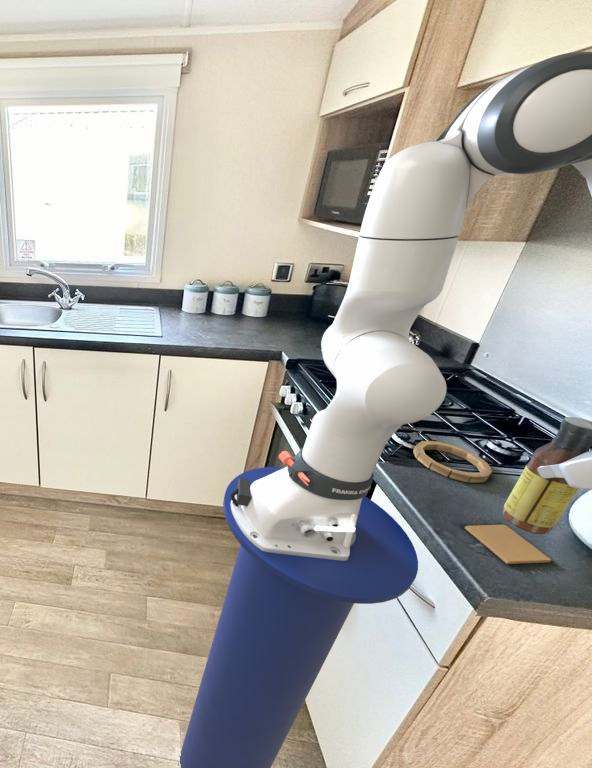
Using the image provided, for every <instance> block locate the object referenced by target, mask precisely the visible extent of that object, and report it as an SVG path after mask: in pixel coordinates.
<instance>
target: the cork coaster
mask: <svg viewBox="0 0 592 768" xmlns="http://www.w3.org/2000/svg"><path fill="white" fill-rule="evenodd" d="M464 529H465V531H467V532H468V533H470V534H471V535H472V536H473V537H474V538H476V539H477V540H478V541H479V542H480V543H481V544H483V545H484V546H485V547H486V548H487V549H489V550H490V551H491V552H492V553H494V554H495V556H496V557H498V558H499V559H501V561H503V562H504V563H505V564H506V565H516V564H517V565H518V564H540V563H542V564H543V563H551V562H552V559H551V558H550V557H549V556H547V554H545V553H543V552H542V551H541V550H539V548H537V547H536V546H534V545H533V544H532V543H530V542H529V541H527V540H526V539H525V538H524V537H522V536H521V535H520V534H519V533H517V532H516V531H515V530H513V529H512V528H510V527H509V526H508V525H506V524H485V525H484V524H483V525H482V524H481V525H479V524H478V525H465V526H464Z"/></svg>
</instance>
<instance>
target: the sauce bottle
mask: <svg viewBox="0 0 592 768" xmlns="http://www.w3.org/2000/svg"><path fill="white" fill-rule="evenodd" d="M559 426H560V428H559V430H558V432H557V433H556V435H555V437H554V438H553V439H552V440H551V441H550V442H549V443H545V444H544V445H542V446H540V447H537V448H536V449H535V450H534V452H533V454H532V456H531V458H530V460H529V461H528V463H527V464H526V465H525V467H524V469H523V470H522V472H521V474H520V476H519V478H518V479H517V481H516V483H515V485H514V486H513V488H512V490H511V492H510V493H509V496H508V497H507V499H506V501H505V503H504V505H503V508H502V516H503V518H504V519H505V520H506V521H507V522H508V523H510V524H512V525H514V526H515V527H517V528H518V529H520V530H522V531H526V532H528V533H531V534H536V535H546V534H549V533H550V532H551V531H552V530H553V528H555V526H556V525H557V524H558V522H559V521H560V519H561V517H562V516H563V515H564V512H565V511H566V510H567V508H568V507H569V505H570V503H571V501H572V500H573V499H574V497H575V495H576V494H577V492H578V491H579V489H577V488H572V487H570V486H569V484H568V483H567V481H566V480H565V478H558V477H555V478H542V477H541V476H540V474H539V472H538V470H537V468H538V467H541V466H543V465H550V464H561V463H563V462H566V461H568V460H570V459H572V458H574V457H577V456H579V455H581V454H583V453H586V452H588V451H590V450H591V449H590V448H591V446H592V420H589V419H585V418H582V417H577V416H576V417H575V416H566V417H564V418H563V419H562V420H561V422H560V425H559Z"/></svg>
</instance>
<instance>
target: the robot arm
mask: <svg viewBox="0 0 592 768" xmlns="http://www.w3.org/2000/svg"><path fill="white" fill-rule="evenodd" d="M570 165H571V166H573V167H574V168H576V170H578V172H579V173H580V174H581V176H582V178H585V180H586V184H587V188H588V190H589V191H588V192H589V193H590V196H591V197H592V51H574V52H567V53H562V54H557V55H555V56H551V57H549V58H545V59H543V60H542V61H538V62H537V63H533V64H529V65H526V66H524V67H521V68H518V69H516V70H514V71H512V72H510V73H509V74H507V75H505V76H503V77H501V78H500V79H498V80H497V81H495V82H494V83H492V84H490V85H489V86H488V87H486V88H485V89H483V90H481V91H480V92H479V93H478V94H477V95H475V96H474V97H473V98H472V99H471V100H469V102H467V103H466V105H465V106H464V107H463V108H462V109H461V110H460V111H459V112H458V114H457V115H456V116H455V117H454V119H453V120H452V121H451V122H450V123H449V124H448V126H447V127H446V129H444V131H442V133H441V134H440V136H439V137H437V138H436V140H434V141H427V142H422V143H417V144H415V145H414V144H413V145H412V146H411V145H410V146H409V147H406V148H403V149H402V150H400V151H398V152H396V153H395V154H394V155H392V156H391V157H390V158H389V159H387V161H386V162H385V163H384V164H383V166H382V168H381V170H380V171H379V173H378V176H377V179H376V181H375V183H374V186H373V188H372V191H371V194H370V196H369V199H368V202H367V205H366V209H365V211H364V214H363V219H362V222H361V227H360V231H359V234H358V240H357V244H356V248H355V252H354V258H353V262H352V267H351V272H350V276H349V279H348V280H349V281H348V284H347V287H346V291H345V294H344V297H343V299H342V301H341V304H340V306H339V308H338V310H337V313H336V315H335V317H334V320H333V322H332V324H331V325H329V326H328V328H327V329H325V331H324V333H323V335H322V338H321V342H320V347H321V354H322V355H321V356H322V358H323V362H324V365H325V366H326V368H327V369H328V370H329V371H330V373H331V374H332V375H333V377H334V379H336V390H335V393H334V396H333V398H332V399H331V401H330V403H329V404H328V405H327V406H326V408H325V409H322V410H319V411H318V412H317V413H316V414H315V415H313V418H312V421H311V424H310V427H309V429H308V433H307V435H306V438H305V442H304V445H303V447H301V449H299V451H298V452H297V453H296V454H295V455H294V456H291V454H290V453H289V451H287V450H283V451H281V452H280V453H279V454H278V459H279V460H280V461H281V462H282V464H283V465H284V466H285V468H283V469H281V470H278V471H276V472H274V473H272V474H270V475H268V476H265V477H263V478H261V479H259V480H256V481H254V482H253V483H252V484H251V486H250V480H247V479H243V478H239V480H238V484H237V489H235V490H234V491H233V492H232V493H231V511H232V514H233V516H234V519H235V521H236V523H237V524H238V526H239V528H240V529H241V531H242V532H243V534H244V535H245V536H246V537H247V539H248V540H249V541H250V542H251V543H252V544H254V545H255V546H256V547H257V548H259V549H260V550H262V551H264V552H270V553H278V554H287V555H295V556H304V557H312V558H321V559H330V560H338V561H347V560H348V559H349V555H350V547H351V546H352V545H353V543H354V542H355V539H356V523H357V519H358V514H359V510H360V505H361V501H362V498H363V497H364V496H366V497H367V495H368V493H369V490H371V488H372V486H371V485H372V483H373V481H374V478H375V475H374V471H375V469H376V467H377V464H378V462H379V460H380V458H381V456H382V453H383V452H384V449H385V447H386V446H387V444H388V442H389V440H390V439H391V438H392V436H393V435H395V433H396V432H397V431H398V430H399V429H400V428H401V427H402V426H403V425H409V424H414V423H417V422H419V421H422V420H424V419H426V418H428V417H429V416H431V415H432V414H434V413H435V412H436V411H437V410H438V409H439V408H440V407H441V405H442V404H443V402H444V400H445V398H446V395H447V391H448V390H447V389H448V387H447V383H446V379H445V377H444V376H443V374H442V373H441V370H440V369H439V367H438V366H437V364H436V363H435V361H434V360H433V358H432V357H431V356H430V354H428V353H426V352H425V351H424V350H422V349H421V348H419V347H418V346H417V345H415V344H413V342H411V341H410V331H411V328H412V326H413V325H414V323H415V321H416V319H417V318H418V316H419V315H420V313H421V312H422V310H423V309H424V308H425V306H427V305H428V304H430V303H432V302H433V301H435V300H436V299H437V298H438V297H439V296H440V295H441V293H442V292H443V289H444V286H445V283H446V280H447V276H448V273H449V270H450V267H451V263H452V260H453V257H454V254H455V250H456V247H457V244H458V241H459V237H460V234H461V231H462V228H463V224H464V220H465V216H466V212H467V209H468V208H469V207H470V204H471V202H472V200H473V199H474V197H475V196H476V194H477V193H478V191H479V190H480V189H481V188H482V187H483V186H484V185H485V184H486V183H487V182H488V181H489V180H491V179H493V178H494V177H496V176H498V177H499V176H500V177H501V176H504V177H505V176H516V175H530V174H537V173H543V172H548V171H552V170H556V169H560V168H564V167H566V166H570ZM537 470H538V472H539V474H540V476H541V477H542V478H555V477H558V478H565V480H566V481H567V483H568V484H569V486H570V487H572V488H577V489H578V490H592V449H590V450H589V451H588V452H586V453H583V454H581V455H579V456H577V457H574V458H572V459H570V460H568V461H566V462H563V463H561V464H550V465H543V466H541V467H538V468H537ZM236 494H237V495H236Z"/></svg>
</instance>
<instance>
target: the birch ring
mask: <svg viewBox="0 0 592 768" xmlns="http://www.w3.org/2000/svg"><path fill="white" fill-rule="evenodd" d="M425 450H427V451H429V450H430V451H431V450H437V451H441V452H445V453H449V454H452V455H454V456H457V457H459V458H462V459H464V460H465V461H467V462H469V463H470V464H472V465H473V466H474V467H476V468H477V470H478V472H466V471H462V470H458V469H454V468H451V467H449V466H446V465H444V464H442V463H439V462H437V461H436V460H434V459H433V458H431V457H430V456H429V455H427V454H426V453H425ZM412 451H413V452H412V453H413V455H414V457H415V459H416V460H417V461H418V462H420V463H421V464H423V465H424V467H426V468H427V469H430V470H431V471H433V472H435V473H438V474H440V475H442V476H444V477H446V478H448V477H449V479H453V480H457V481H461V482H466V483H471V484H472V483H484V482H486V481H487V480H488V479H489V478H490V476H491V475H492V473H493V469H492V468H491V466H490V464H489V463H488V462H487V461H486V460H485V459H483V458H482V457H480V456H479V455H477V454H475V453H473V452H471V451H470V450H467V449H465V448H462V447H460V446H458V445H453V444H451V443H446V442H442V441H438V440H436V441H435V440H421V441H420V442H418V443H417V444H415V445H414V447H413V450H412Z"/></svg>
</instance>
